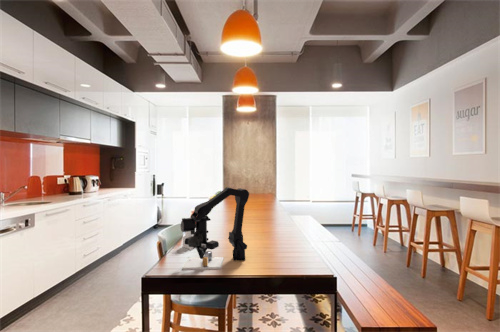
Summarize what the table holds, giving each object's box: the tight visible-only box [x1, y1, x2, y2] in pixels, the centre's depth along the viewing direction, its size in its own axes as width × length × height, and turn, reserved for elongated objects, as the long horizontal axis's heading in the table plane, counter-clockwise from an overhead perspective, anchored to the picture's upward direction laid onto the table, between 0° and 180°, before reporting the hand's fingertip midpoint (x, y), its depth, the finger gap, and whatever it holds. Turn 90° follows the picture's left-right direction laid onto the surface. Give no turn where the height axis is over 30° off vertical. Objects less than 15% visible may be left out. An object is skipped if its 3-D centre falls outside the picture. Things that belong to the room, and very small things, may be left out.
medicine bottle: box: [182, 228, 196, 250], centre depth 182 cm, size 7×7×12 cm
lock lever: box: [203, 250, 213, 266], centre depth 153 cm, size 10×4×4 cm, turn 177°
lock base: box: [182, 256, 224, 271], centre depth 153 cm, size 20×14×1 cm
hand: (201, 258), depth 149 cm, fingers closed
